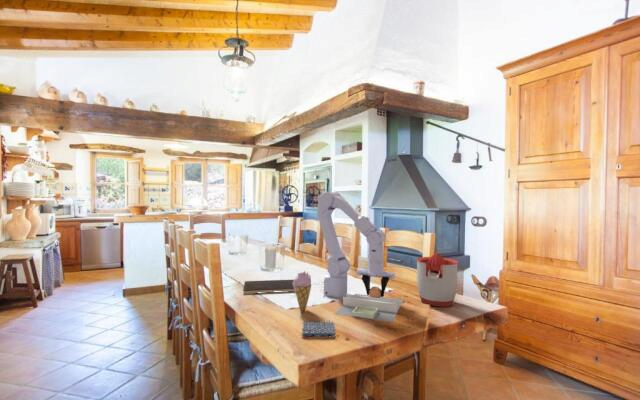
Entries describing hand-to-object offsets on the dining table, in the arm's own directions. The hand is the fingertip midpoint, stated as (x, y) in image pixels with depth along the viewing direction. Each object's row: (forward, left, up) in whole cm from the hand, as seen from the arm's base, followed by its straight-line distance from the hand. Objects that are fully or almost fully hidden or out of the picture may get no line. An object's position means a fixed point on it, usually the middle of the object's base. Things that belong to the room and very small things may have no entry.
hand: (375, 295), depth 127 cm
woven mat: (-10, -34, -4) cm, 36 cm away
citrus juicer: (+22, +10, -3) cm, 24 cm away
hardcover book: (-49, +2, -4) cm, 49 cm away
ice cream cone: (-22, -21, -3) cm, 31 cm away
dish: (0, -16, -2) cm, 16 cm away
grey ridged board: (0, -7, -3) cm, 8 cm away
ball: (0, 0, +1) cm, 1 cm away
